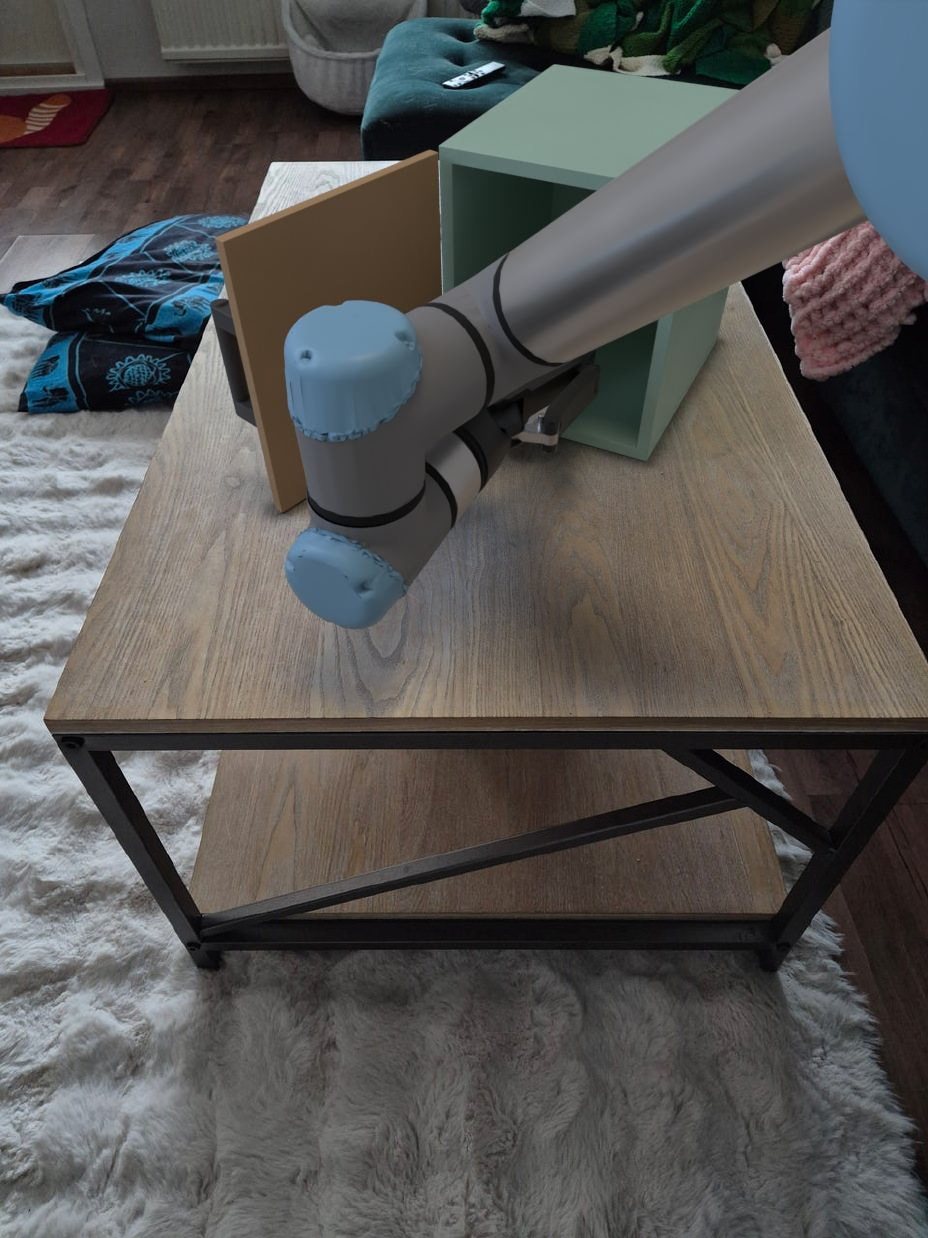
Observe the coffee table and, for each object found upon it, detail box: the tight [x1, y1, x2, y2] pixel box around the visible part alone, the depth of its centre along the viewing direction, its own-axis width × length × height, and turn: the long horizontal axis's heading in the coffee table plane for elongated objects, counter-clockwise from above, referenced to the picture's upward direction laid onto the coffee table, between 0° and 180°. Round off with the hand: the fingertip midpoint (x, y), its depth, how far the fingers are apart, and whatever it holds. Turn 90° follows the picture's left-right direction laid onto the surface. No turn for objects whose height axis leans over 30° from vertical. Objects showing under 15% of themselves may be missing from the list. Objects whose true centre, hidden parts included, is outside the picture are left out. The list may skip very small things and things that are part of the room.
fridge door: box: [209, 149, 443, 514], centre depth 73 cm, size 6×21×24 cm, turn 138°
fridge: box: [438, 64, 741, 462], centre depth 82 cm, size 24×21×24 cm
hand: (557, 321), depth 77 cm, fingers closed on drinking glass, 6 cm apart
